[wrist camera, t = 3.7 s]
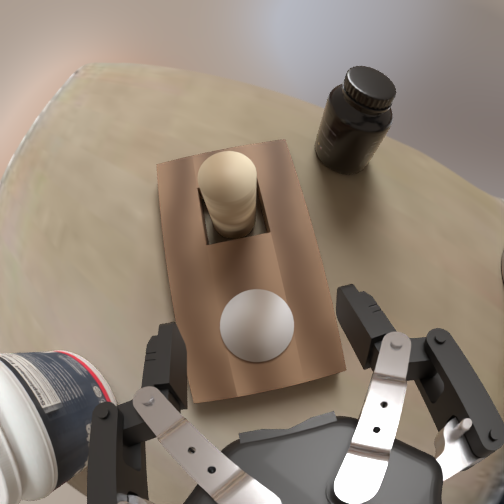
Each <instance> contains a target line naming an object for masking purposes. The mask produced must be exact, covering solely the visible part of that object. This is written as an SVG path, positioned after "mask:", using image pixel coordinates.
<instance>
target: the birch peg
mask: <svg viewBox="0 0 504 504" xmlns="http://www.w3.org/2000/svg"><path fill="white" fill-rule="evenodd" d="M256 183H257V172H256V168H255V166H254V164H253V162H252V161H251V160H250V159H249V158H248V157H247V156H245V155H243V154H241V153H239V152H234V151H223V152H219V153H216V154H214V155H212V156H210V157H209V158H207V159H206V160H205V161H204V162H203V164H202V165H201V167H200V169H199V172H198V184H199V187H200V190H201V193H202V195H203V198H204V201H205V203H206V206H207V209H208V211H209V214H210V217H211V219H212V222H213V225H214V227H215V229H216V231H217V232H218V233H219V234H220V235H222V236H224V237H226V238H229V239H238V238H241V237H244V236H246V235H247V234H248V233H249V232H250V231H251V230H252V229H253V227H254V224H255V218H256Z"/></svg>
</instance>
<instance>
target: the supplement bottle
mask: <svg viewBox="0 0 504 504" xmlns="http://www.w3.org/2000/svg"><path fill="white" fill-rule="evenodd" d="M395 95H396V89H395V86H394V84H393V83H392V81H390V79H389V78H388V77H387V76H385V75H384V74H383V73H381V72H379V71H377V70H375V69H373V68H370V67H365V66H356V67H353V68H350V70H348V71H347V73H346V76H345V79H344V81H343V84H340V85H338V86H336V87H335V88H334V89H333V90H332V91H331V92H330V94H329V96H328V99H327V103H326V106H325V110H324V113H323V117H322V120H321V124H320V127H319V130H318V134H317V138H316V142H315V149H316V153H317V155H318V157H319V159H320V160H321V161H322V163H323V164H324V165H326V166H327V167H328V168H330V169H331V170H333V171H335V172H338V173H342V174H354V173H357V172H360V171H361V170H363V169H364V168H365V167H366V165H367V164H368V163H369V161H370V160H371V158H372V156H373V155H374V153H375V152H376V150H377V148H378V147H379V145H380V143H381V142H382V140H383V139H384V137H385V135H386V134H387V132H388V130H389V129H390V127H391V125H392V121H393V114H392V110H391V105H392V102H393V99H394V98H395Z"/></svg>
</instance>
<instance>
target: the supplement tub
mask: <svg viewBox="0 0 504 504" xmlns="http://www.w3.org/2000/svg"><path fill="white" fill-rule="evenodd" d="M106 401H108V402H112V403H113V404H115V405H116V406H117V402H116V399H115V397H114V394H113V392H112V390H111V388H110V386H109V385H108V383H107V381H106V380H105V378H104V377H103V376H102V374H101V373H100V372H99V371H98V370H97V369H96V368H95V367H94V366H93V365H92V364H91V363H90V362H88V361H87V360H86V359H84V358H83V357H81V356H79V355H77V354H74V353H71V352H68V351H63V350H55V351H47V352H31V353H0V504H19V503H20V501H21V500H26V501H35V500H40V499H42V498H45V497H47V496H48V495H49V494H50V493H51V492H52V491H54V490H55V489H57V488H58V487H60V486H61V485H63V484H64V483H65V482H67V481H68V480H70V479H71V478H72V477H74V476H75V475H76V474H78V473H79V472H80V471H82V470H83V469H84V468H86V467H87V466H88V454H89V440H90V430H91V420H92V413H93V410H94V408H95V407H96V406H97V405H98V404H100V403H102V402H106Z"/></svg>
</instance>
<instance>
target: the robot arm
mask: <svg viewBox="0 0 504 504" xmlns="http://www.w3.org/2000/svg"><path fill="white" fill-rule="evenodd" d="M502 275H503V280H504V252H503V256H502ZM336 314H337V318H338V321H339V323H340V325H341V327H342V329H343V331H344V332H345V334H346V336H347V338H348V340H349V342H350V344H351V346H352V348H353V350H354V352H355V353H356V355H357V357H358V359H359V361H360V363H361V365H362V367H363V369H364V370H365V369H368V368H370V367H371V369H372V370H373V374H372V378H371V381H370V384H369V388H368V391H367V394H366V397H365V400H364V403H363V406H362V409H361V412H360V415H359V418H358V419H356V418H352V417H346V416H335V413H334V411H332V412H329V413H326V414H322V415H319V416H315V417H312V418H310V419H308V420H306V421H304V422H302V423H300V424H298V425H296V426H294V427H292V428H290V429H261V430H255V431H250V432H244V433H239V438H240V439H238V440H236V441H234V442H232V443H230V444H229V445H227V446H226V447H225V448H224V449H223V450H222V451H221V452H220V451H219V450H218V449H217V448H216V447H215V446H214V445H213V444H212V443H211V442H210V441H208V440H207V439H206V438H205V437H204V436H203V435H202V434H201V433H200V432H199V431H198V430H197V429H196V428H195V427H194V426H193V425H192V424H191V423H190V422H189V421H188V420H187V419H186V418H184V417H183V416H182V415H181V410H183V409H187V349H186V345H185V342H184V340H183V338H182V336H181V333H180V331H179V329H178V327H177V325H176V323H175V322H171V323H165V324H160V325H159V331H158V335H157V336H152V337H151V339H150V340H149V342H148V344H147V348H146V355H145V363H144V371H143V379H142V387H141V389H140V390H138V391H137V392H136V394H135V395H134V397H133V399H132V400H131V401H128V402H126V403H123V404H120V405H118V406H116V405H115V404H113V403H112V402H108V401H106V402H102V403H100V404H98V405H97V406H96V407H95V408H94V410H93V413H92V420H91V430H90V440H89V454H88V475H87V504H155V503H153V502H151V501H149V498H148V486H147V472H146V451H145V441H147V440H150V439H153V438H155V437H158V440H159V442H160V443H161V444H162V445H163V447H164V448H165V449H166V450H167V451H168V452H169V453H170V455H171V456H172V457H173V458H174V459H175V460H176V461H177V462H178V464H179V465H180V466H181V467H182V468H183V469H184V470H185V471H186V472H187V473H188V474H189V475H190V476H191V477H192V478H193V479H194V480H195V481H196V482H197V483H198V484H197V486H196V487H195V488H194V490H193V491H192V493H191V494H190V495H189V497H188V498H187V499H186V501H185V502H184V503H183V504H442V500H441V494H442V485H443V480H445V479H447V478H449V477H450V476H452V475H454V474H455V473H457V472H459V471H465V470H467V469H469V468H471V467H472V466H474V465H475V464H477V463H479V462H480V461H482V460H483V459H485V458H486V457H488V456H489V455H490V454H492V453H493V452H495V451H496V450H497V449H499V448H500V447H501V446H502V445H503V444H504V423H503V421H502V419H501V417H500V415H499V413H498V411H497V409H496V407H495V405H494V404H493V402H492V400H491V398H490V396H489V395H488V393H487V391H486V389H485V388H484V386H483V384H482V383H481V381H480V379H479V378H478V376H477V374H476V373H475V371H474V369H473V368H472V366H471V365H470V363H469V362H468V360H467V358H466V357H465V355H464V354H463V352H462V351H461V349H460V348H459V346H458V345H457V343H456V342H455V340H454V339H453V337H452V336H451V335H450V333H449V332H447V331H446V330H444V329H440V328H436V329H432V330H431V331H429V333H428V334H427V337H422V338H409V337H408V336H407V335H405V334H404V333H401V332H397V331H396V330H395V329H394V327H393V326H392V324H391V323H390V321H389V320H388V318H387V317H386V315H385V314H384V313H383V311H381V308H380V307H379V306H378V305H377V303H376V301H375V300H374V299H373V297H372V296H371V295H369V294H367V293H366V292H364V291H363V292H358V290H357V289H356V288H355V286H354V285H353V284H349V285H345V286H342V287H338V289H337V301H336ZM409 380H414V381H415V383H416V385H417V387H418V389H419V391H420V393H421V395H422V397H423V399H424V401H425V404H426V406H427V408H428V410H429V412H430V414H431V416H432V418H433V421H434V423H435V425H436V427H437V429H438V432H439V433H438V434H437V435H436V437H435V441H434V445H435V449H436V453H435V457H433V456H431V455H429V454H427V453H425V452H423V451H421V450H418V449H416V448H414V447H412V446H410V445H408V444H406V443H404V442H402V441H400V440H398V439H396V438H394V437H395V433H396V430H397V426H398V422H399V418H400V414H401V410H402V406H403V401H404V397H405V392H406V387H407V381H409Z"/></svg>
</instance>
